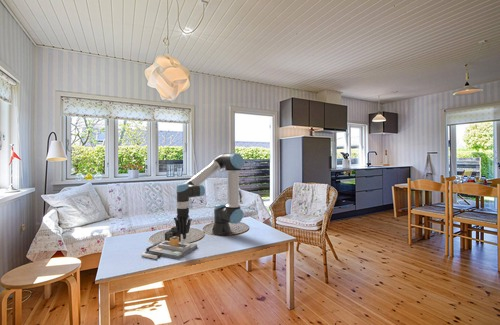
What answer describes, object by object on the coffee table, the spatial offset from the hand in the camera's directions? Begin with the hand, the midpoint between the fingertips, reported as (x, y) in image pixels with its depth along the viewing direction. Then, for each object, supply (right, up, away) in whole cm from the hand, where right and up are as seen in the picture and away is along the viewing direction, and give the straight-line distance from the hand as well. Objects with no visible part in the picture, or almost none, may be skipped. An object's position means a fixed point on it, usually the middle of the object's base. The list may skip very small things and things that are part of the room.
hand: (183, 243), depth 155 cm
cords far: (-18, -6, -7) cm, 20 cm away
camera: (-13, -5, +22) cm, 26 cm away
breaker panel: (-6, -5, +3) cm, 9 cm away
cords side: (-20, -5, +7) cm, 22 cm away
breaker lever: (-6, -3, +3) cm, 8 cm away
